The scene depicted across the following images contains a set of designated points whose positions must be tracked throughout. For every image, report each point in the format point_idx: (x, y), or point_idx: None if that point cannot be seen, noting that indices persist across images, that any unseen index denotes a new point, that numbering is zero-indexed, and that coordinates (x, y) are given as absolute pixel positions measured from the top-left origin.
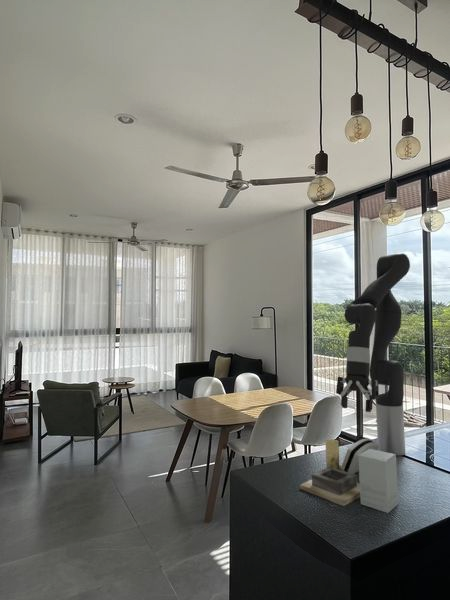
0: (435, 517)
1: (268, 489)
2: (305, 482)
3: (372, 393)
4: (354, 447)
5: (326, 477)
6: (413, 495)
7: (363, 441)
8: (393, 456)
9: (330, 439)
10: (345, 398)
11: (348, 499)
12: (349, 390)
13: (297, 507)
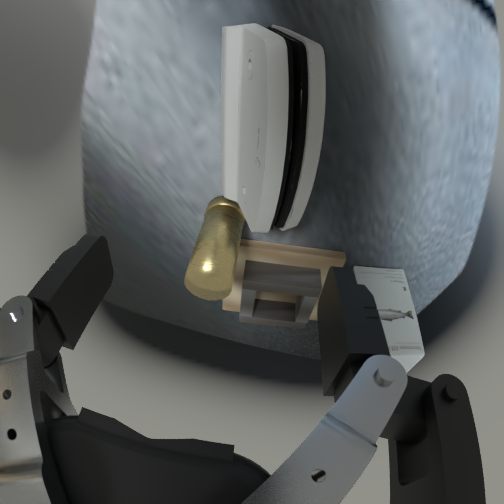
0: (451, 276)
1: (188, 320)
2: (223, 300)
3: (399, 462)
4: (271, 222)
5: (270, 320)
6: (432, 222)
7: (284, 164)
8: (418, 360)
9: (191, 274)
10: (71, 324)
11: None
12: (57, 406)
13: (259, 337)
